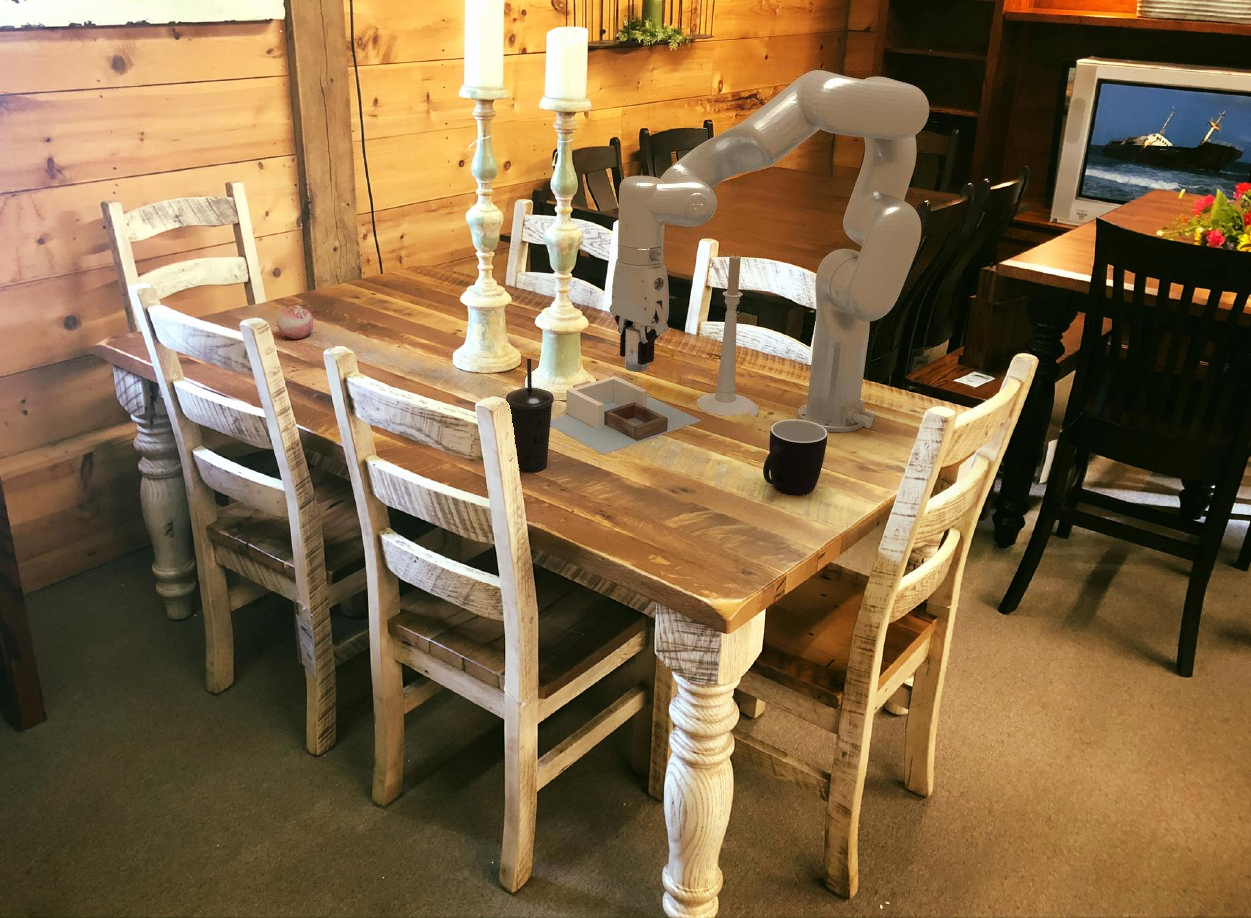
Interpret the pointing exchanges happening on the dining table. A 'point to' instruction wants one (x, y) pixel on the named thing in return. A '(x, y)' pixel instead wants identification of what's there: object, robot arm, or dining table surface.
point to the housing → (601, 398)
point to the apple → (295, 322)
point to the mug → (795, 456)
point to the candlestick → (729, 357)
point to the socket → (619, 422)
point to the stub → (633, 349)
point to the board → (612, 439)
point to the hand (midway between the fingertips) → (636, 357)
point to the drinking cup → (531, 424)
